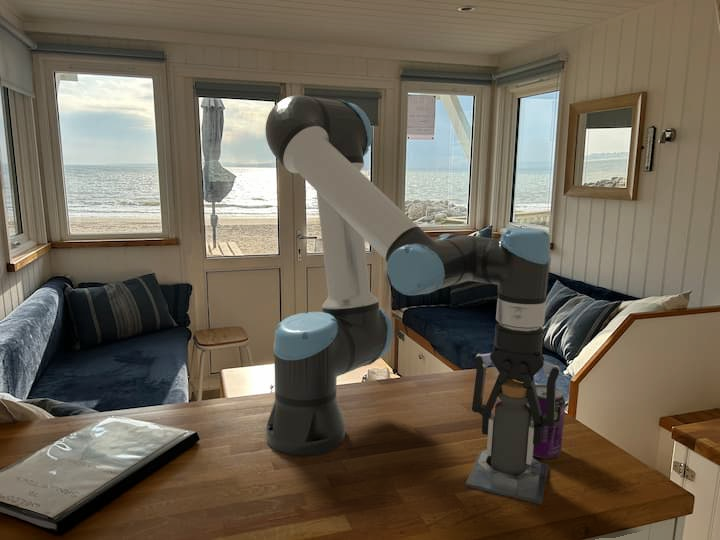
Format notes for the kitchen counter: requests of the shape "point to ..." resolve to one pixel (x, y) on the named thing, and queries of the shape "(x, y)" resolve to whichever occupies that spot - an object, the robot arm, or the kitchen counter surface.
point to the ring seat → (509, 479)
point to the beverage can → (553, 434)
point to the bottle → (511, 429)
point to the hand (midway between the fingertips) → (509, 455)
